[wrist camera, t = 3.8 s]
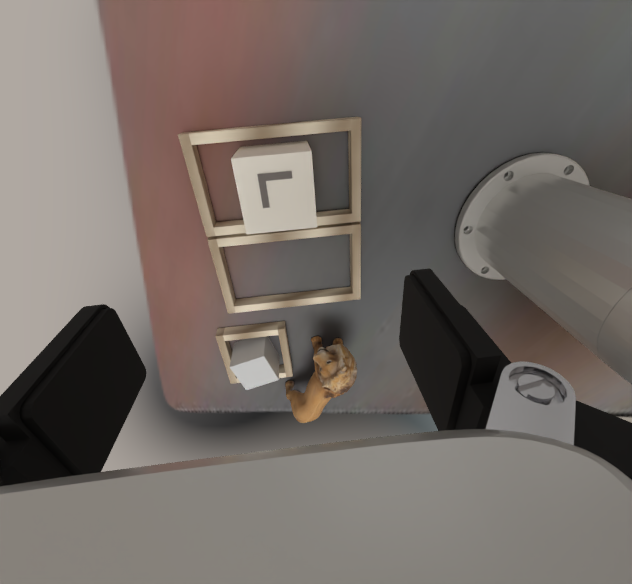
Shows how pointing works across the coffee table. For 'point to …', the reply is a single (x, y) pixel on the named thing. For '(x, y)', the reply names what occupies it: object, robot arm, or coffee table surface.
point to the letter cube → (275, 186)
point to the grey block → (255, 362)
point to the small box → (253, 332)
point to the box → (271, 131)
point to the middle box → (290, 298)
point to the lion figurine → (323, 380)
